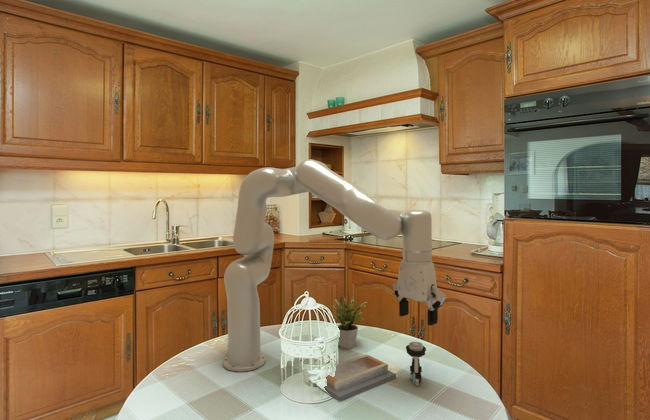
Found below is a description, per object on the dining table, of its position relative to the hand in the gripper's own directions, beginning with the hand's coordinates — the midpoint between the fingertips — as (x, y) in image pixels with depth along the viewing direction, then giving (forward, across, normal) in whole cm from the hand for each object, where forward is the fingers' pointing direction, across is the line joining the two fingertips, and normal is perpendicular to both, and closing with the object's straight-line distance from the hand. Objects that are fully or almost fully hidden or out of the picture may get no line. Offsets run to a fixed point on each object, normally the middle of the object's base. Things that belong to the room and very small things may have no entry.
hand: (417, 319), depth 106 cm
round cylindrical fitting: (+17, 0, 0) cm, 17 cm away
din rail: (+15, -11, -13) cm, 23 cm away
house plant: (+17, -30, +1) cm, 34 cm away
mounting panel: (+17, -12, -13) cm, 24 cm away
